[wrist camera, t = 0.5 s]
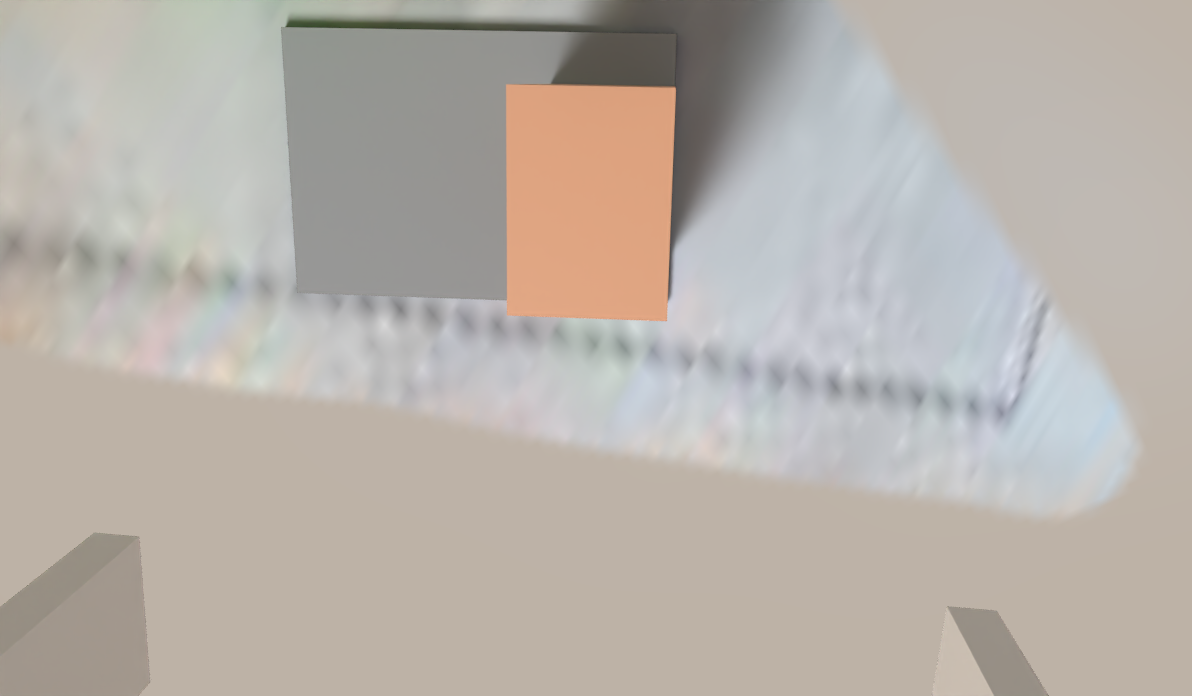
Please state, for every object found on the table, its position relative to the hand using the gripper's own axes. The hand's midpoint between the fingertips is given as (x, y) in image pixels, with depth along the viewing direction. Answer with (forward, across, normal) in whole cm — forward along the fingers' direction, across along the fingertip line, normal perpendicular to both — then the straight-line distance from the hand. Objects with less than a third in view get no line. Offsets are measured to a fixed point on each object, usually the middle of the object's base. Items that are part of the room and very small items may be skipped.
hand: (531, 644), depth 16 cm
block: (+27, -1, +5) cm, 27 cm away
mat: (+27, -6, +5) cm, 28 cm away
